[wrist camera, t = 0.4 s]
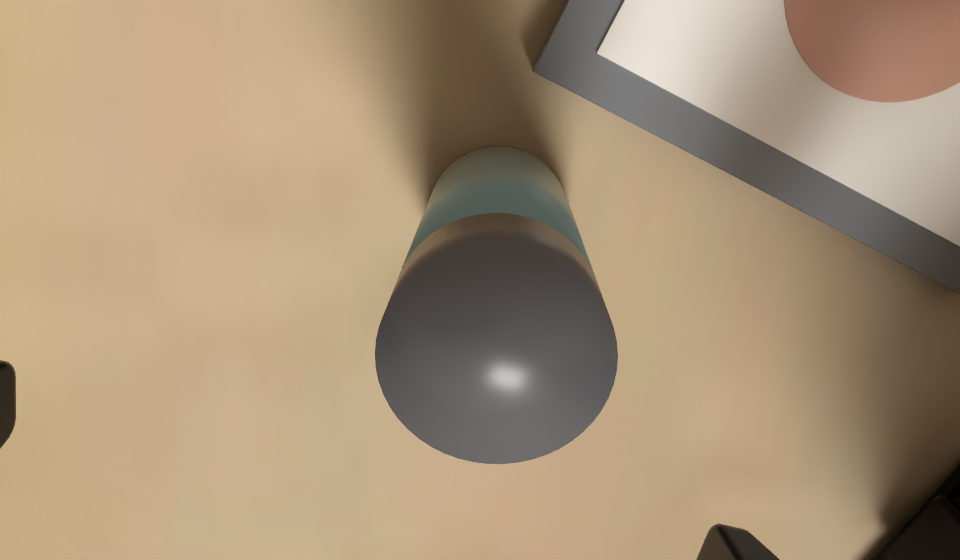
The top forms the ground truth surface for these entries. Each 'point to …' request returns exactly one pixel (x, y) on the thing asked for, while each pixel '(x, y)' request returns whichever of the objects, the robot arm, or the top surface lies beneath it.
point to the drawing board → (793, 103)
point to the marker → (496, 317)
